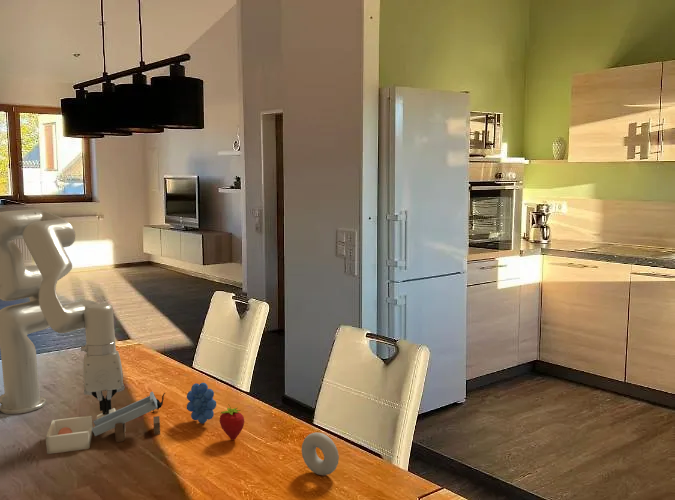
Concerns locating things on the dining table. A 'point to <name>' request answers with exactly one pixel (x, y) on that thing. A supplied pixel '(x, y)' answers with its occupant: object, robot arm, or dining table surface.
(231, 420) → the strawberry
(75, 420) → the tray
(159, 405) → the creature
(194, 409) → the grapes
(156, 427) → the post
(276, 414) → the dining table surface
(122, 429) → the pivot stand
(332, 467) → the donut
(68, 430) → the ball
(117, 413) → the lever
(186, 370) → the dining table surface
